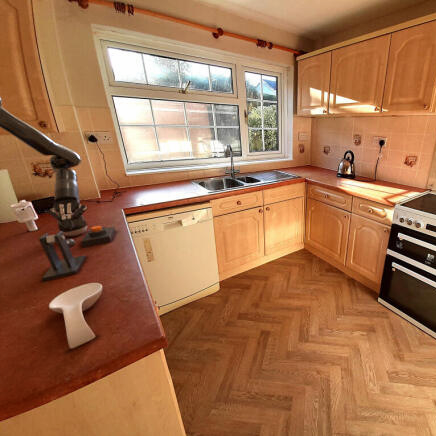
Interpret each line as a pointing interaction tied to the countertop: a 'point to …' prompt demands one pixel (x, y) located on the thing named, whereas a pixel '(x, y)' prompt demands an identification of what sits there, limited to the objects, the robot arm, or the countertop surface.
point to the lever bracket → (59, 266)
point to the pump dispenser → (78, 226)
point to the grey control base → (98, 236)
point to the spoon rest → (77, 311)
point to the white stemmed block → (25, 214)
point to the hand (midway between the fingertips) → (68, 228)
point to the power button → (96, 228)
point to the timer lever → (52, 240)
